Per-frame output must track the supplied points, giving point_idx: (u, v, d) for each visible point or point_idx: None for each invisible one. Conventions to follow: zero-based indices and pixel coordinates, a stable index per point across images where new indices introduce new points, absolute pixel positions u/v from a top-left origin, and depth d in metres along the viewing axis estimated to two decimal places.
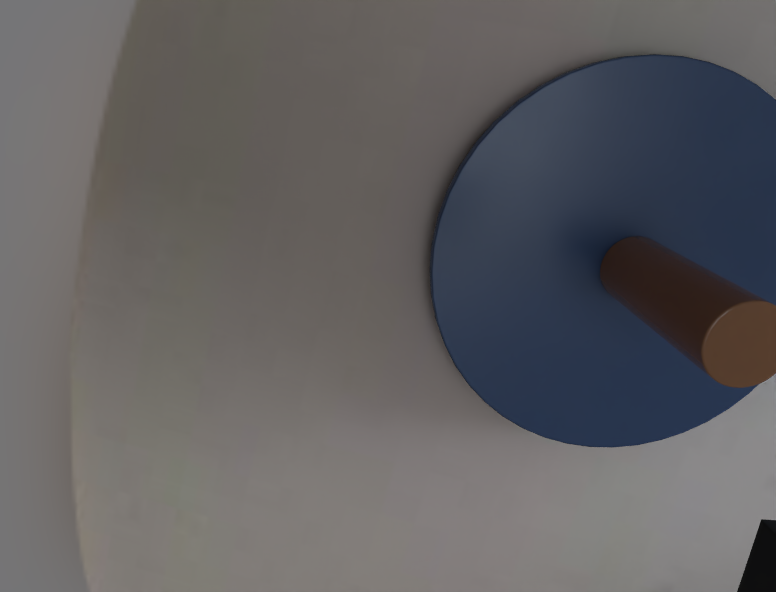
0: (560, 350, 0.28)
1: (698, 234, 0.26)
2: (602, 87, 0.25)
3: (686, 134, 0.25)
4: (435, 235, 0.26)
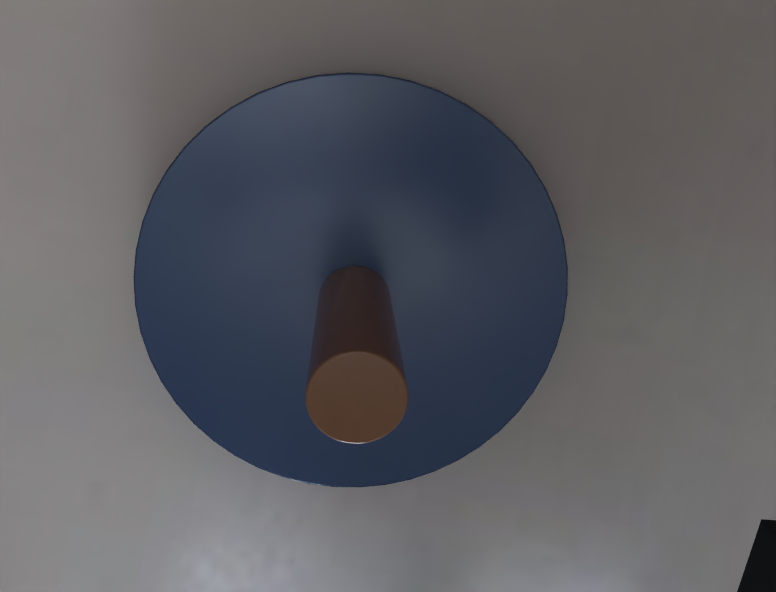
0: (256, 231, 0.24)
1: None
2: (540, 247, 0.25)
3: (491, 334, 0.26)
4: (391, 77, 0.23)
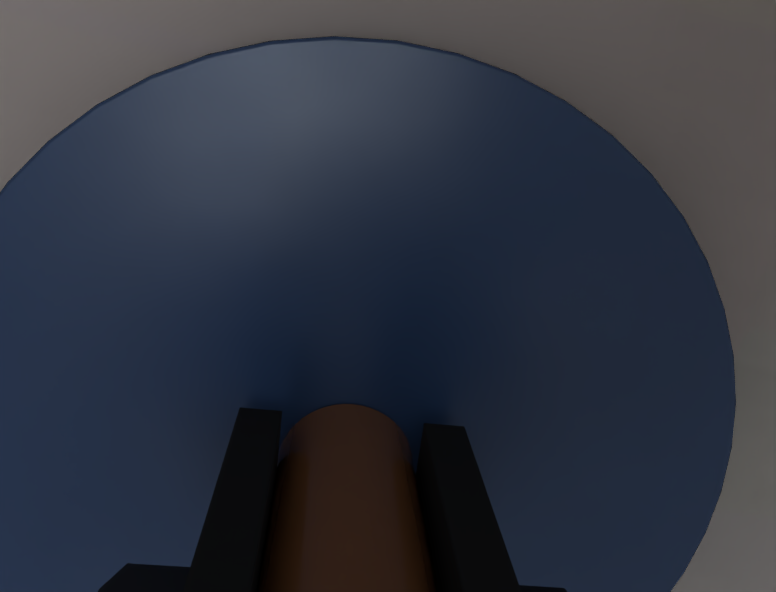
0: (158, 344, 0.13)
1: None
2: (691, 367, 0.13)
3: (592, 516, 0.14)
4: (421, 46, 0.11)
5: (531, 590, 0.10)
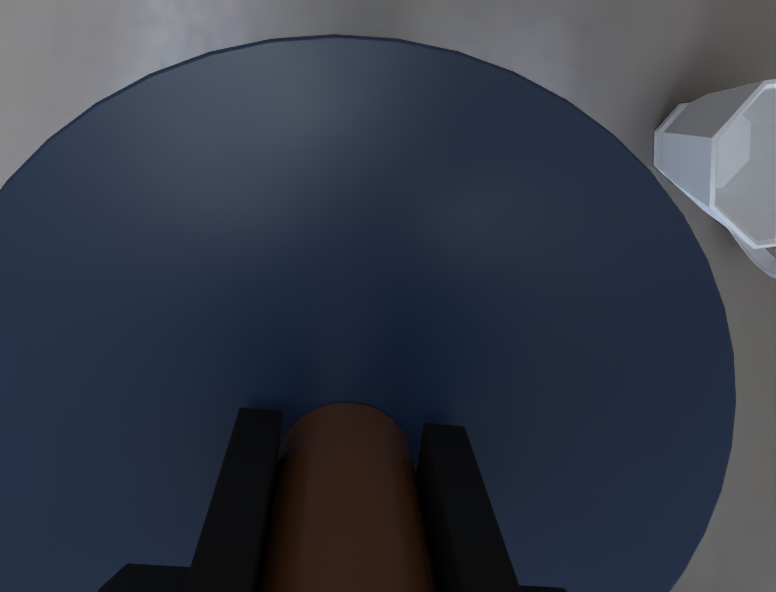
0: (158, 342, 0.13)
1: None
2: (691, 366, 0.13)
3: (592, 515, 0.14)
4: (421, 44, 0.11)
5: (531, 590, 0.10)
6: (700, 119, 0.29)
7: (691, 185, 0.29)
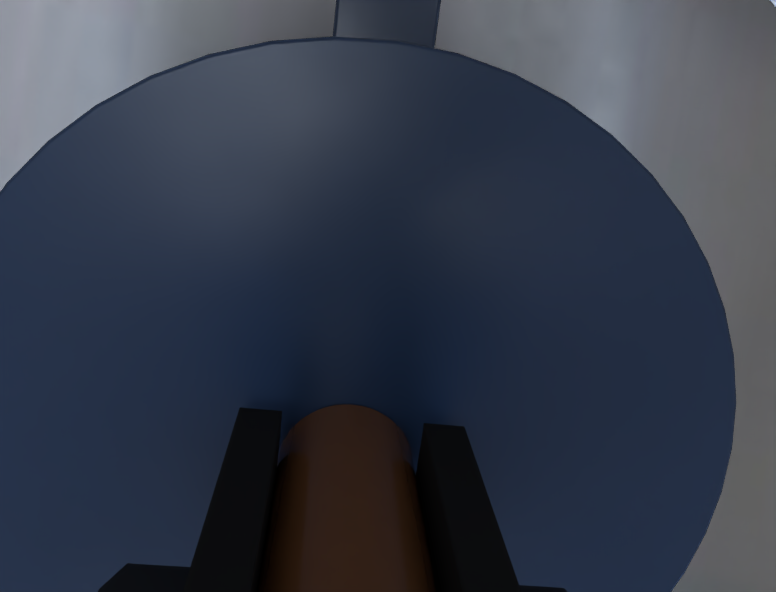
0: (158, 344, 0.13)
1: None
2: (691, 368, 0.13)
3: (592, 517, 0.14)
4: (421, 46, 0.11)
5: (531, 590, 0.10)
6: None
7: None
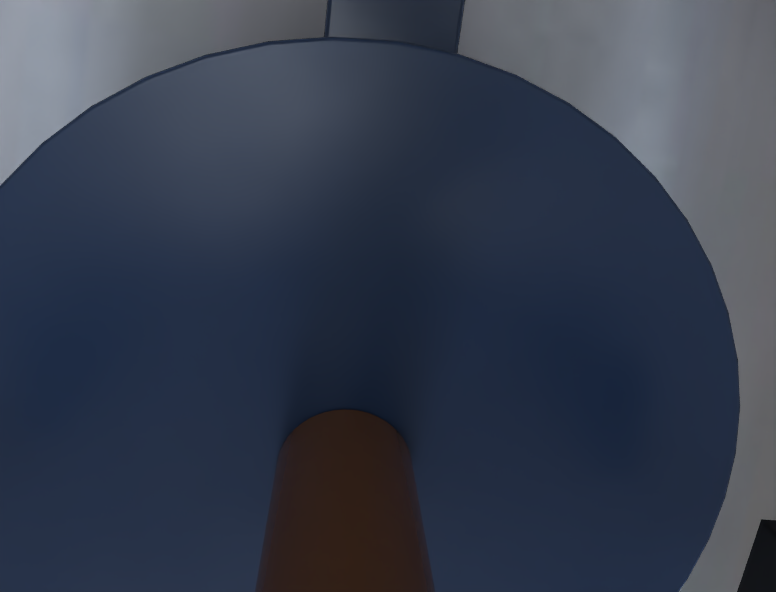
0: (154, 348, 0.12)
1: None
2: (694, 372, 0.13)
3: (594, 523, 0.14)
4: (421, 47, 0.11)
5: None
6: None
7: None
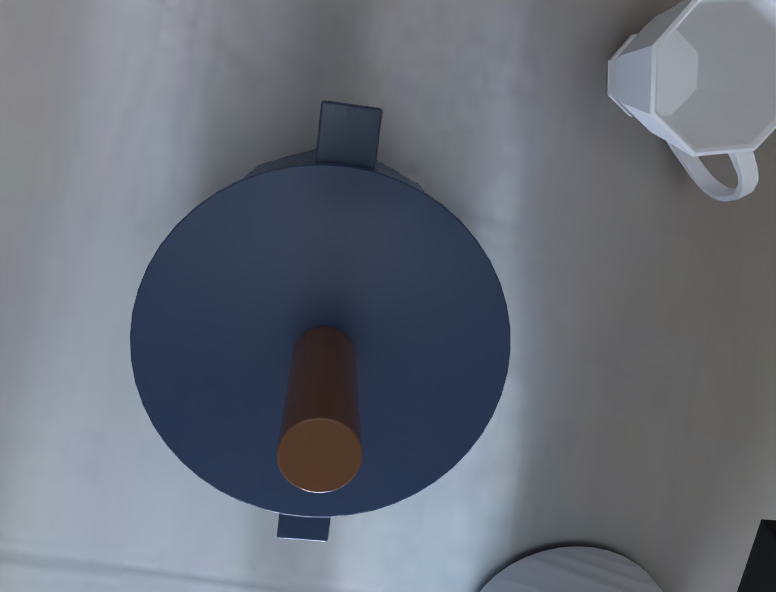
0: (238, 297, 0.28)
1: None
2: (486, 311, 0.28)
3: (444, 385, 0.29)
4: (356, 167, 0.26)
5: None
6: (645, 36, 0.30)
7: (636, 99, 0.30)
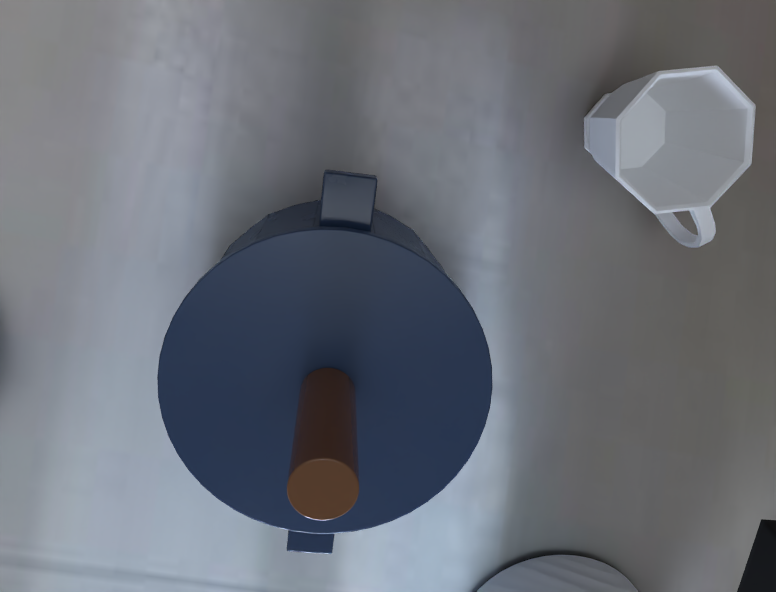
0: (252, 343, 0.31)
1: None
2: (470, 353, 0.32)
3: (434, 417, 0.33)
4: (354, 231, 0.30)
5: None
6: (613, 105, 0.34)
7: (605, 161, 0.34)
